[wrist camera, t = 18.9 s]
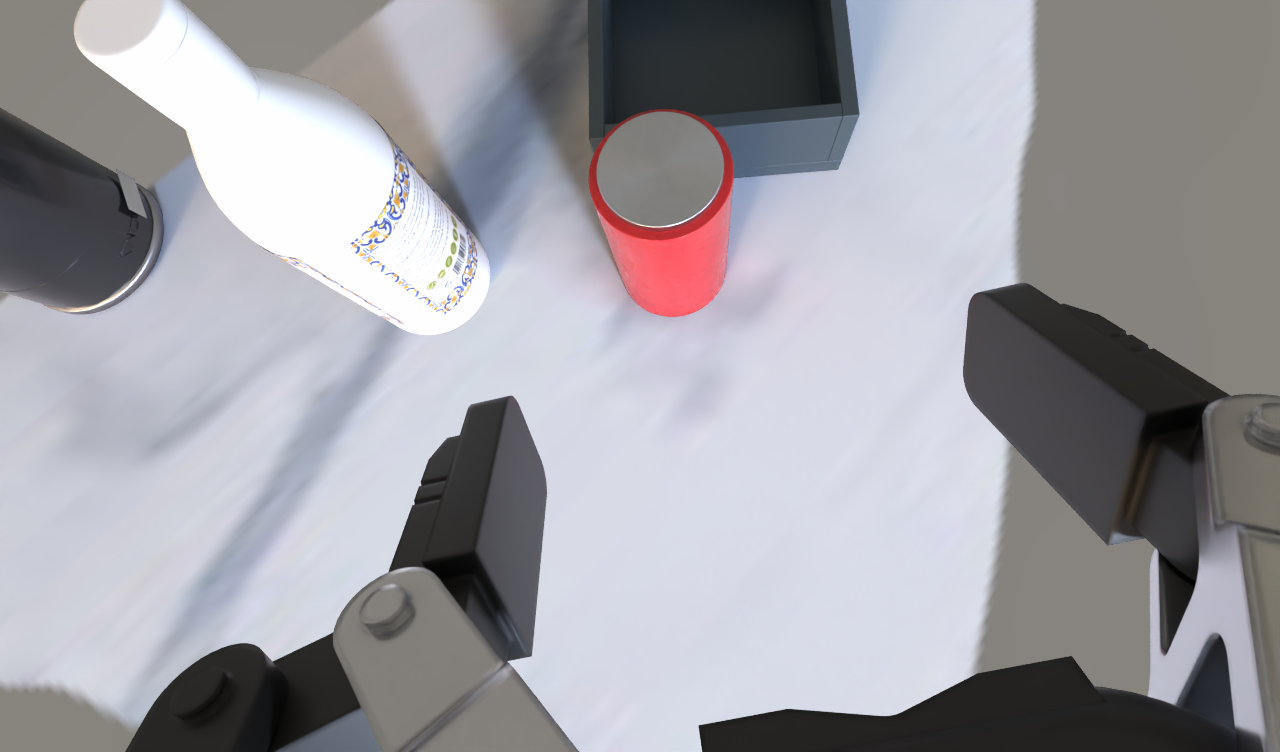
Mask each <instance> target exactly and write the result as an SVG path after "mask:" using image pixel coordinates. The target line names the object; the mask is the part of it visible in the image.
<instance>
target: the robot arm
mask: <svg viewBox="0 0 1280 752" xmlns="http://www.w3.org/2000/svg"><path fill="white" fill-rule="evenodd" d="M163 234H164V225H163V217H162V213H161V210H160V207H159V205H158V203H157V201H156V200H155V198H154V197H153V196H152V194H151V193H150V192H149V191H148V190H146V189H145V188H144V187H142V186H141V185H139V184H137V183H135V180H134V179H133V178H130V177H129V176H127V175H125V174H124V173H122V172H120V171H118V170H117V174H116V173H114V172H113V171H111V170H109V169H107V168H106V167H104V166H102V165H100V164H99V163H97V162H95V161H93V160H91V159H90V158H88V157H86V156H84V155H83V154H81V153H80V152H78V151H76V150H74V149H72V148H71V147H69V146H67V145H65V144H64V143H62V142H60V141H58V140H56V139H55V138H53V137H51V136H49V135H48V134H46V133H44V132H42V131H40V130H39V129H37V128H35V127H33V126H32V125H30V124H28V123H26V122H24V121H22V120H21V119H19V118H17V117H16V116H13V115H12V114H10V113H8V112H7V111H5V110H3V109H1V108H0V291H1V292H5V293H8V294H11V295H15V296H18V297H21V298H24V299H28V300H31V301H34V302H38V303H41V304H43V305H45V306H47V307H49V308H52V309H55V310H58V311H62V312H65V313H70V314H90V313H95V312H99V311H102V310H105V309H107V308H110V307H112V306H114V305H116V304H117V303H119V302H121V301H122V300H124V299H125V298H126V297H128V296H129V295H130V294H131V293H133V292H134V291H135V290H136V289H137V288H138V287H139V286H140V285H141V284H142V282H143V281H144V280H145V279H146V277H147V276H148V275H149V273H150V272H151V270H152V268H153V267H154V265H155V262H156V260H157V258H158V256H159V253H160V250H161V246H162V241H163ZM963 377H964V383H965V387H966V390H967V393H968V395H969V397H970V399H971V400H972V402H973V404H974V405H975V406H976V407H977V408H978V409H979V410H980V411H981V412H982V413H983V414H984V415H985V417H986V418H987V419H988V420H989V421H990V422H991V423H992V424H993V425H994V426H995V427H996V428H997V429H998V430H999V431H1000V432H1001V433H1002V434H1003V436H1004V437H1005V438H1006V439H1007V440H1008V441H1009V442H1010V443H1011V444H1012V445H1013V446H1014V447H1015V448H1016V449H1017V450H1018V451H1019V452H1020V453H1021V454H1022V456H1023V457H1024V458H1025V459H1026V460H1027V461H1028V462H1029V463H1030V464H1031V465H1032V466H1033V467H1034V468H1035V469H1036V470H1037V471H1038V472H1039V473H1040V474H1041V476H1042V477H1043V478H1044V479H1045V480H1046V481H1047V482H1048V483H1049V484H1050V485H1051V486H1052V487H1053V488H1054V489H1055V490H1056V491H1057V492H1058V493H1059V494H1060V496H1061V497H1062V498H1063V499H1064V500H1065V501H1066V502H1067V503H1068V504H1069V505H1070V506H1071V507H1072V508H1073V509H1074V510H1075V511H1076V513H1078V514H1079V516H1080V517H1081V518H1082V519H1083V520H1084V521H1085V522H1086V523H1087V524H1088V525H1089V526H1090V527H1091V528H1092V529H1093V530H1094V531H1095V532H1096V534H1097V535H1098V536H1099V537H1100V538H1101V539H1102V540H1103V541H1104V542H1105V543H1106V544H1107V545H1113V544H1118V543H1123V542H1128V541H1133V540H1138V539H1144V538H1146V539H1147V540H1148V541H1149V542H1150V543H1151V544H1152V545H1153V546H1154V547H1155V550H1154V552H1153V556H1152V558H1151V562H1150V660H1151V661H1150V662H1151V664H1150V665H1151V668H1150V669H1151V670H1150V683H1149V690H1148V695H1147V696H1144V695H1140V694H1137V693H1133V692H1128V691H1122V690H1117V689H1111V688H1105V687H1094V686H1093V684H1092V683H1091V682H1090V680H1089V679H1088V678H1087V676H1086V675H1085V673H1083V671H1082V669H1081V668H1080V667H1079V666H1078V664H1077V663H1076V661H1075V660H1074V659H1073V657H1072V656H1069V657H1064V658H1059V659H1053V660H1048V661H1042V662H1037V663H1032V664H1026V665H1021V666H1016V667H1010V668H1005V669H1000V670H994V671H989V672H983V673H978V674H976V675H974V676H972V677H970V678H968V679H966V680H964V681H962V682H960V683H958V684H956V685H954V686H952V687H950V688H948V689H946V690H944V691H943V692H941V693H939V694H937V695H935V696H933V697H931V698H929V699H927V700H925V701H923V702H921V703H919V704H917V705H915V706H913V707H911V708H909V709H907V710H905V711H903V712H901V713H899V714H896V715H892V716H872V715H859V714H846V713H834V712H821V711H808V710H795V709H785V710H779V711H774V712H769V713H763V714H758V715H753V716H747V717H742V718H736V719H731V720H726V721H720V722H715V723H710V724H704V725H699V732H700V739H701V746H702V752H1280V396H1275V395H1265V394H1243V395H1234V396H1230V395H1228V394H1227V393H1225V392H1224V391H1222V390H1220V389H1219V388H1217V387H1216V386H1214V385H1212V384H1211V383H1209V382H1207V381H1206V380H1204V379H1203V378H1201V377H1199V376H1197V375H1196V374H1194V373H1193V372H1191V371H1189V370H1188V369H1186V368H1185V367H1183V366H1181V365H1180V364H1178V363H1177V362H1175V361H1173V360H1172V359H1170V358H1169V357H1167V356H1165V355H1164V354H1162V353H1160V352H1159V351H1157V350H1156V349H1149V348H1148V345H1147V344H1146V343H1144V342H1143V341H1141V340H1139V339H1137V338H1136V337H1135V336H1133V335H1127V334H1126V331H1125V330H1123V329H1122V328H1120V327H1118V326H1117V325H1115V324H1113V323H1112V322H1110V321H1108V320H1107V319H1105V318H1104V317H1102V316H1100V315H1098V314H1094V313H1092V312H1088V311H1085V310H1082V309H1079V308H1076V307H1073V306H1069V305H1066V304H1059V303H1058V302H1056V301H1055V300H1053V299H1051V298H1050V297H1048V296H1047V295H1045V294H1044V293H1042V292H1040V291H1039V290H1037V289H1036V288H1034V287H1033V286H1031V285H1029V284H1027V283H1019V284H1015V285H1010V286H1006V287H1001V288H997V289H992V290H988V291H983V292H979V293H976V294H975V295H973V297H972V298H971V300H970V303H969V308H968V318H967V330H966V342H965V354H964V366H963ZM546 497H547V486H546V478H545V472H544V468H543V465H542V461H541V459H540V456H539V454H538V451H537V449H536V446H535V444H534V441H533V439H532V436H531V434H530V431H529V429H528V426H527V424H526V421H525V419H524V416H523V414H522V411H521V409H520V407H519V404H518V402H517V401H516V399H515V398H514V397H513V396H507V397H502V398H498V399H493V400H489V401H484V402H480V403H475V404H471V405H470V406H469V408H468V410H467V414H466V417H465V420H464V423H463V427H462V430H461V433H460V435H459V436H455V437H450V438H447V439H446V440H445V441H444V442H443V443H442V445H441V446H440V447H439V448H438V449H437V451H436V452H435V453H434V454H433V455H432V457H431V458H430V459H429V460H428V463H427V466H426V469H425V472H424V474H423V477H422V480H421V486H419V488H418V491H417V494H416V497H415V500H414V502H415V505H412V508H411V511H410V513H409V516H408V519H407V522H406V525H405V527H404V530H403V533H402V536H401V539H400V541H399V544H398V547H397V550H396V553H395V555H394V558H393V561H392V564H391V567H390V569H389V572H388V573H386V574H384V575H382V576H380V577H378V578H377V579H375V580H374V581H372V582H370V583H369V584H368V585H366V586H365V587H364V588H363V589H361V590H360V591H359V592H358V593H357V594H356V595H355V596H354V597H353V598H352V599H351V600H350V602H349V603H348V604H347V605H346V607H345V608H344V609H343V611H342V612H341V614H340V616H339V618H338V620H337V622H336V625H335V628H334V632H333V633H331V634H329V635H328V636H326V637H323V638H321V639H319V640H317V641H315V642H313V643H311V644H309V645H307V646H305V647H303V648H300V649H298V650H296V651H294V652H292V653H290V654H288V655H286V656H284V657H282V658H280V659H277V660H275V661H273V662H272V661H271V660H270V659H269V657H268V656H267V655H266V654H265V653H264V652H263V651H262V650H261V649H260V648H259V647H257V646H255V645H252V644H248V643H240V644H234V645H230V646H227V647H224V648H221V649H219V650H216V651H214V652H212V653H210V654H208V655H207V656H205V657H203V658H201V659H200V660H198V661H197V662H195V663H194V664H192V665H191V666H190V667H188V668H187V669H186V670H185V671H183V672H182V673H181V674H180V675H179V676H178V677H177V678H175V679H174V680H173V681H172V682H171V683H170V684H169V685H168V687H167V688H166V689H165V690H164V691H163V692H162V693H161V694H160V696H159V697H158V698H157V700H156V701H155V702H154V704H153V705H152V707H151V708H150V710H149V711H148V713H147V715H146V717H145V718H144V720H143V722H142V724H141V725H140V727H139V729H138V731H137V732H136V734H135V736H134V738H133V739H132V741H131V743H130V745H129V746H128V748H127V750H126V752H579V751H578V750H577V749H576V747H575V746H574V745H573V744H572V742H571V741H570V740H569V738H568V737H567V736H566V735H565V733H564V732H563V731H562V729H561V728H560V727H559V726H558V724H557V723H556V722H555V720H554V719H553V718H552V717H551V715H550V714H549V713H548V711H547V710H546V709H545V708H544V706H543V705H542V704H541V702H540V701H539V700H538V699H537V697H536V696H535V695H534V693H533V692H532V691H531V690H530V688H529V687H528V686H527V684H526V683H525V682H524V681H523V679H522V678H521V677H520V676H519V674H518V673H517V672H516V671H515V669H514V668H513V667H512V666H511V665H510V664H509V663H508V662H507V661H510V660H515V659H520V658H525V657H530V656H532V647H533V637H534V626H535V615H536V604H537V594H538V583H539V572H540V562H541V551H542V540H543V529H544V519H545V508H546Z"/></svg>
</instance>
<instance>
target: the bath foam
mask: <svg viewBox="0 0 1280 752" xmlns="http://www.w3.org/2000/svg"><path fill="white" fill-rule="evenodd" d="M74 37H75V41H76V43H77V46H78V48H79V49H80V51H81V52H82V53H83V54H84V55H85V56H86V57H87V58H88V59H89V60H90V61H91V62H92V63H94V64H95V65H97V66H98V67H99V68H100V69H102V70H103V71H105V72H106V73H107V74H109V75H110V76H111V77H113V78H114V79H116V80H117V81H118V82H120V83H121V84H123V85H124V86H125V87H127V88H128V89H129V90H131V91H132V92H134V93H135V94H136V95H138V96H139V97H141V98H142V99H143V100H145V101H146V102H148V103H149V104H150V105H152V106H153V107H154V108H156V109H157V110H159V111H160V112H161V113H163V114H164V115H166V116H167V117H169V118H170V119H171V120H173V121H174V122H176V123H177V124H179V125H180V126H181V127H183V128H184V129H186V133H187V136H188V139H189V142H190V146H191V149H192V152H193V155H194V158H195V161H196V164H197V167H198V169H199V172H200V174H201V177H202V179H203V181H204V183H205V185H206V187H207V189H208V191H209V193H210V194H211V196H212V198H213V199H214V201H215V202H216V203H217V205H218V206H219V208H220V209H221V210H222V211H223V213H224V214H225V215H226V216H227V217H228V218H229V219H230V220H231V221H232V222H233V223H234V224H235V225H236V226H237V227H238V228H239V229H240V230H241V231H242V232H243V233H244V234H246V235H247V236H248V237H249V238H251V239H252V240H253V241H255V242H256V243H257V244H258V245H259V246H261V247H262V248H264V249H265V250H267V251H269V252H271V253H272V254H274V255H276V256H277V257H279V258H281V259H283V260H284V261H286V262H288V263H289V264H291V265H293V266H295V267H296V268H298V269H300V270H301V271H303V272H305V273H307V274H308V275H310V276H312V277H313V278H315V279H317V280H319V281H320V282H322V283H324V284H326V285H327V286H329V287H331V288H332V289H334V290H336V291H338V292H339V293H341V294H343V295H344V296H346V297H348V298H350V299H351V300H353V301H355V302H356V303H358V304H360V305H362V306H363V307H365V308H367V309H368V310H370V311H372V312H374V313H375V314H377V315H379V316H380V317H382V318H384V319H386V320H388V321H390V322H391V323H393V324H395V325H396V326H398V327H400V328H402V329H404V330H406V331H409V332H412V333H416V334H423V335H432V334H439V333H444V332H447V331H450V330H452V329H454V328H456V327H458V326H460V325H461V324H463V323H464V322H466V321H467V320H468V319H469V318H470V317H471V316H472V315H473V314H474V313H475V312H476V311H477V310H478V308H479V307H480V305H481V304H482V302H483V300H484V298H485V296H486V294H487V291H488V287H489V282H490V266H489V261H488V257H487V255H486V252H485V250H484V248H483V247H482V245H481V244H480V242H479V241H478V240H477V238H476V237H475V236H474V235H473V234H472V232H471V231H470V230H469V229H468V227H467V226H466V225H465V224H464V223H463V221H462V220H461V219H460V218H459V217H458V216H457V214H456V213H455V212H454V211H453V210H452V209H451V207H450V206H449V205H448V204H447V203H446V202H445V200H444V199H443V198H442V197H441V196H440V195H439V193H438V192H437V191H436V190H435V189H434V188H433V186H432V185H431V184H430V183H429V182H428V180H427V179H426V178H425V177H424V176H423V175H422V173H421V172H420V171H419V170H418V169H417V168H416V166H415V165H414V164H413V163H412V162H411V161H410V159H409V158H408V157H407V156H406V155H405V154H404V152H403V151H402V150H401V149H400V148H399V147H398V145H397V144H396V143H395V142H394V141H393V140H392V138H391V137H390V136H389V135H388V134H387V133H386V131H385V130H384V129H383V128H382V127H381V126H380V124H379V123H378V122H377V121H376V120H374V119H373V118H372V117H371V116H370V115H369V114H367V113H366V112H365V111H364V110H363V109H362V108H360V107H359V106H358V105H357V104H355V103H354V102H352V101H351V100H350V99H348V98H347V97H345V96H344V95H342V94H340V93H339V92H337V91H335V90H333V89H331V88H329V87H327V86H325V85H323V84H321V83H318V82H316V81H313V80H310V79H308V78H304V77H301V76H297V75H293V74H289V73H284V72H279V71H274V70H269V69H263V68H257V67H251V66H247V65H246V64H245V63H244V62H243V61H242V60H241V59H240V58H239V57H238V56H237V55H236V54H235V53H234V52H233V51H232V50H231V49H230V48H229V47H228V46H227V45H226V44H225V43H224V42H223V41H222V40H221V39H220V38H219V37H218V36H217V35H216V34H215V33H213V32H212V30H211V29H210V28H208V27H207V26H206V25H205V24H204V23H203V22H202V21H201V20H200V19H199V18H198V17H197V16H196V15H195V14H194V13H193V12H192V11H191V10H190V9H189V8H188V7H187V6H186V5H185V4H184V3H182V2H181V1H180V0H85V1H84V2H83V4H82V5H81V7H80V9H79V10H78V13H77V16H76V18H75V22H74Z"/></svg>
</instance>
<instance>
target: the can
mask: <svg viewBox="0 0 1280 752" xmlns="http://www.w3.org/2000/svg"><path fill="white" fill-rule="evenodd" d="M733 178H734V166H733V159H732V156H731V152H730V150H729V147H728V145H727V143H726V142H725V140H724V138H723V137H722V136H721V134H720V133H719V132H718V131H717V130H716V129H715V128H714V127H713V126H712V125H711V124H709V123H708V122H707V121H705V120H703V119H702V118H700V117H698V116H696V115H694V114H691V113H688V112H684V111H680V110H672V109H657V110H650V111H646V112H642V113H639V114H636V115H634V116H631V117H630V118H628V119H626V120H624V121H622V122H621V123H619V124H618V125H617V126H615V127H614V128H613V129H612V130H611V131H610V132H609V133H608V134H607V135H606V136H605V137H604V138H603V140H602V141H601V142H600V144H599V145H598V147H597V149H596V151H595V153H594V155H593V158H592V161H591V165H590V169H589V189H590V193H591V197H592V200H593V203H594V205H595V208H596V211H597V213H598V216H599V219H600V221H601V224H602V227H603V229H604V232H605V235H606V237H607V240H608V243H609V245H610V248H611V251H612V253H613V256H614V259H615V261H616V264H617V267H618V270H619V272H620V275H621V278H622V280H623V283H624V286H625V288H626V290H627V292H628V294H629V295H630V296H631V298H632V299H633V300H634V301H635V302H636V303H637V304H638V305H639V306H641V307H642V308H643V309H645V310H647V311H649V312H651V313H654V314H657V315H661V316H667V317H677V316H684V315H688V314H691V313H693V312H696V311H698V310H699V309H701V308H703V307H704V306H706V305H707V304H708V303H709V302H710V301H711V300H712V299H713V298H714V297H715V296H716V295H717V293H718V292H719V290H720V288H721V286H722V284H723V281H724V278H725V273H726V264H727V252H728V240H729V227H730V215H731V203H732V191H733Z"/></svg>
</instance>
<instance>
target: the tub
mask: <svg viewBox="0 0 1280 752" xmlns="http://www.w3.org/2000/svg"><path fill="white" fill-rule="evenodd" d="M588 55H589V140H590V143H591V146H592V149H593V152H594V153H595V151H596V149H597V147H598V145H599V144H600V142H601V141H602V140H603V138H604V137H605V136H606V135H607V134H608V133H609V132H610V131H611V130H612V129H613V128H614V127H615V126H617V125H618V124H619V123H621V122H622V121H624V120H626V119H628V118H630V117H631V116H634V115H636V114H639V113H642V112H646V111H650V110H657V109H672V110H680V111H684V112H688V113H691V114H694V115H696V116H698V117H700V118H702V119H703V120H705V121H707V122H708V123H709V124H711V125H712V126H713V127H714V128H715V129H716V130H717V131H718V132H719V133H720V134H721V136H722V137H723V138H724V140H725V142H726V143H727V145H728V147H729V150H730V152H731V156H732V159H733V166H734V178H738V177H750V176H763V175H775V174H787V173H800V172H812V171H824V170H837V169H838V168H839V165H840V163H841V160H842V158H843V155H844V153H845V150H846V148H847V145H848V143H849V140H850V138H851V135H852V132H853V130H854V127H855V125H856V122H857V120H858V117H859V108H858V99H857V91H856V82H855V74H854V65H853V57H852V49H851V40H850V32H849V23H848V15H847V6H846V0H588Z"/></svg>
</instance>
